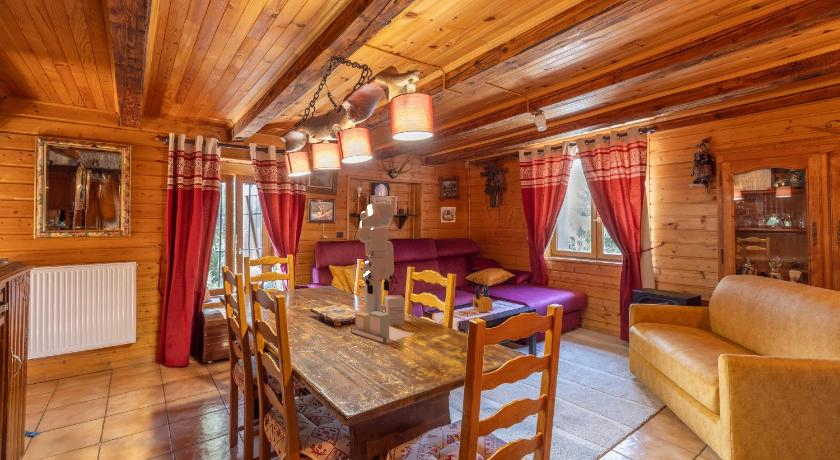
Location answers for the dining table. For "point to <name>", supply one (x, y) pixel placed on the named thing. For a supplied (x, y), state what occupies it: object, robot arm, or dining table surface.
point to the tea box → (379, 323)
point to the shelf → (393, 335)
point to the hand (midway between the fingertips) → (378, 292)
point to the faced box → (362, 321)
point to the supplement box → (395, 309)
